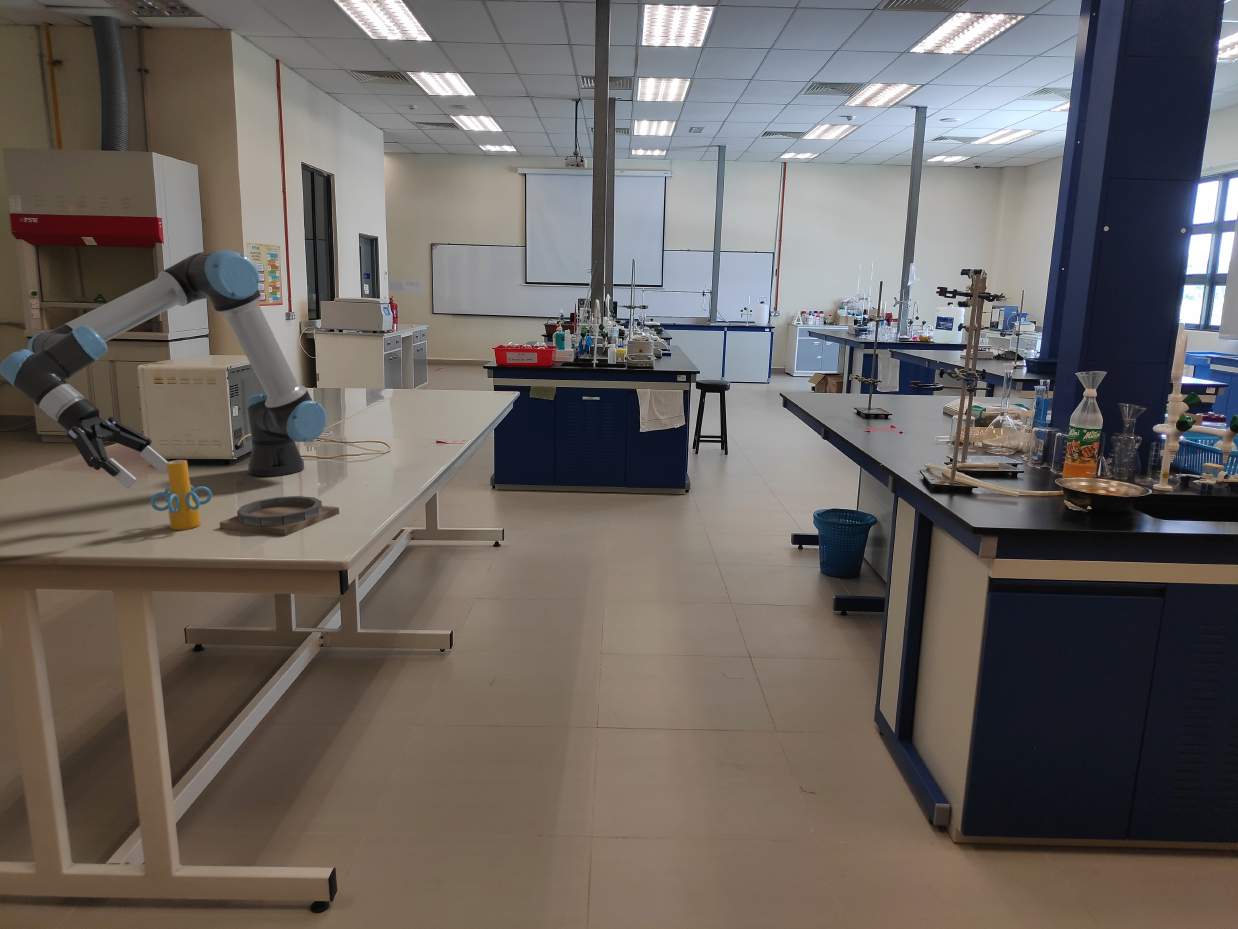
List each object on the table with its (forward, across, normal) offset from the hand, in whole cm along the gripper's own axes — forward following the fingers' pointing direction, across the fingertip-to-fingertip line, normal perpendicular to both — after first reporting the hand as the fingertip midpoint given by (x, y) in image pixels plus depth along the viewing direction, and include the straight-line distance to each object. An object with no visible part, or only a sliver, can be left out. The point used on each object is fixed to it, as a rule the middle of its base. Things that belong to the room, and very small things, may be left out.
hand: (150, 476), depth 174 cm
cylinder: (+13, -1, -4) cm, 14 cm away
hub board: (+27, -4, +10) cm, 29 cm away
